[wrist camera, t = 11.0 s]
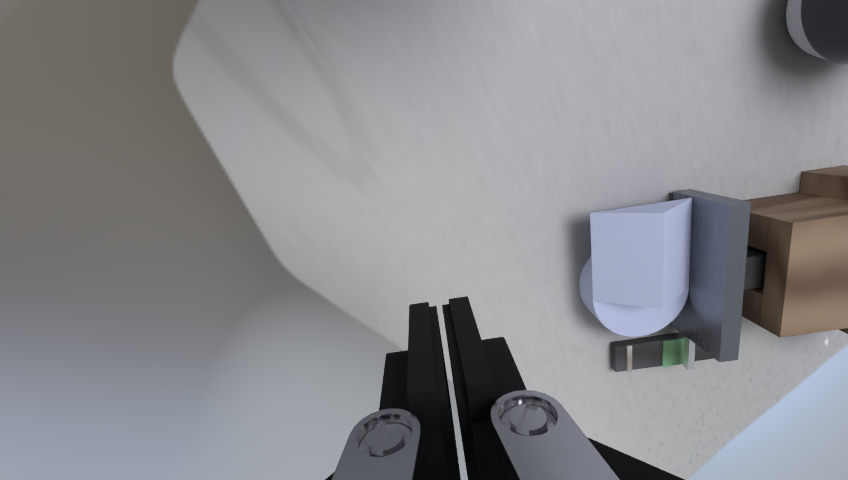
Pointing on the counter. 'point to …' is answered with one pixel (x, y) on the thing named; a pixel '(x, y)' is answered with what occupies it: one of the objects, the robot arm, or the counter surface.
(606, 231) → the wedge on round base
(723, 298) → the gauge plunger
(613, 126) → the counter surface
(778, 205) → the frame
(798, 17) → the black egg-shaped piece
